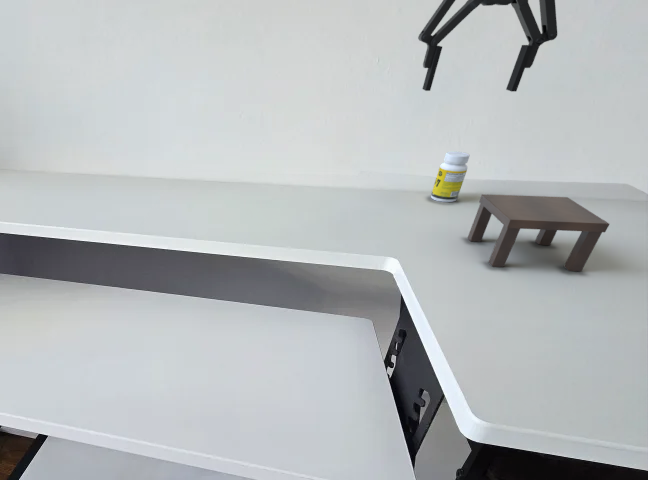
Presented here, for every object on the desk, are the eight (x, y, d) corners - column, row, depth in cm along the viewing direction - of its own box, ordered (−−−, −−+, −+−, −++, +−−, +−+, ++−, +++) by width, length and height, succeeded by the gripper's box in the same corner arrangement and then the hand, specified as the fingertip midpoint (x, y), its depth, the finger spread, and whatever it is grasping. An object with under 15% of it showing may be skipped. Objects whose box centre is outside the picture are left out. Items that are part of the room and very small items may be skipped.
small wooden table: (546, 241, 79) (567, 197, 75) (583, 272, 70) (609, 223, 66) (465, 237, 81) (481, 194, 77) (490, 267, 72) (510, 219, 68)
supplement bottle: (430, 194, 100) (443, 150, 95) (456, 196, 99) (471, 151, 94) (430, 201, 97) (444, 155, 92) (457, 203, 95) (473, 157, 90)
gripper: (435, -71, 73) (395, 92, 86) (629, -81, 69) (557, 93, 81) (424, -65, 79) (389, 87, 92) (603, -74, 74) (539, 88, 87)
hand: (467, 90), depth 87 cm, fingers open, 13 cm apart
